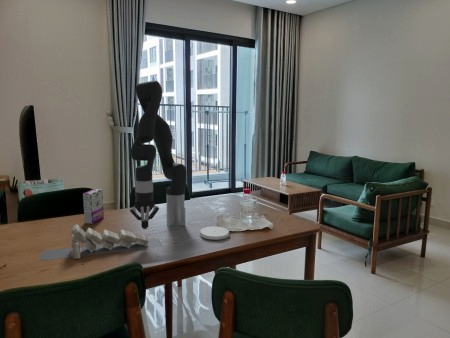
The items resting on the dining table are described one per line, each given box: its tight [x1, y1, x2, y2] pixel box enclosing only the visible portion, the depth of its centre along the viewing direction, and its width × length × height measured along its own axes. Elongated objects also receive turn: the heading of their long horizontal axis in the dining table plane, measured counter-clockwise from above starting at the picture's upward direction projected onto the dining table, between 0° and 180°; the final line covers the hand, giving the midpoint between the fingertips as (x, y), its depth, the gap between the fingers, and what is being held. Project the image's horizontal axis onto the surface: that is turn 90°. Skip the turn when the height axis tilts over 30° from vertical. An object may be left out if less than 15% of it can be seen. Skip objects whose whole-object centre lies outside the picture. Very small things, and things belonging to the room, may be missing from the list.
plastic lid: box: [199, 226, 230, 241], centre depth 164 cm, size 14×14×2 cm
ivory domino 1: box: [70, 223, 97, 252], centre depth 140 cm, size 2×6×12 cm
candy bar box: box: [82, 188, 105, 225], centre depth 180 cm, size 11×5×16 cm, turn 168°
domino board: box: [39, 237, 164, 262], centre depth 144 cm, size 48×10×1 cm, turn 111°
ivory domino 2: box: [84, 227, 114, 250], centre depth 142 cm, size 2×6×12 cm
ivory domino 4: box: [118, 229, 149, 246], centre depth 147 cm, size 2×6×12 cm
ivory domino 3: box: [101, 228, 132, 248], centre depth 145 cm, size 2×6×12 cm
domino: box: [71, 233, 81, 260], centre depth 138 cm, size 2×6×12 cm
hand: (144, 228), depth 149 cm, fingers closed
